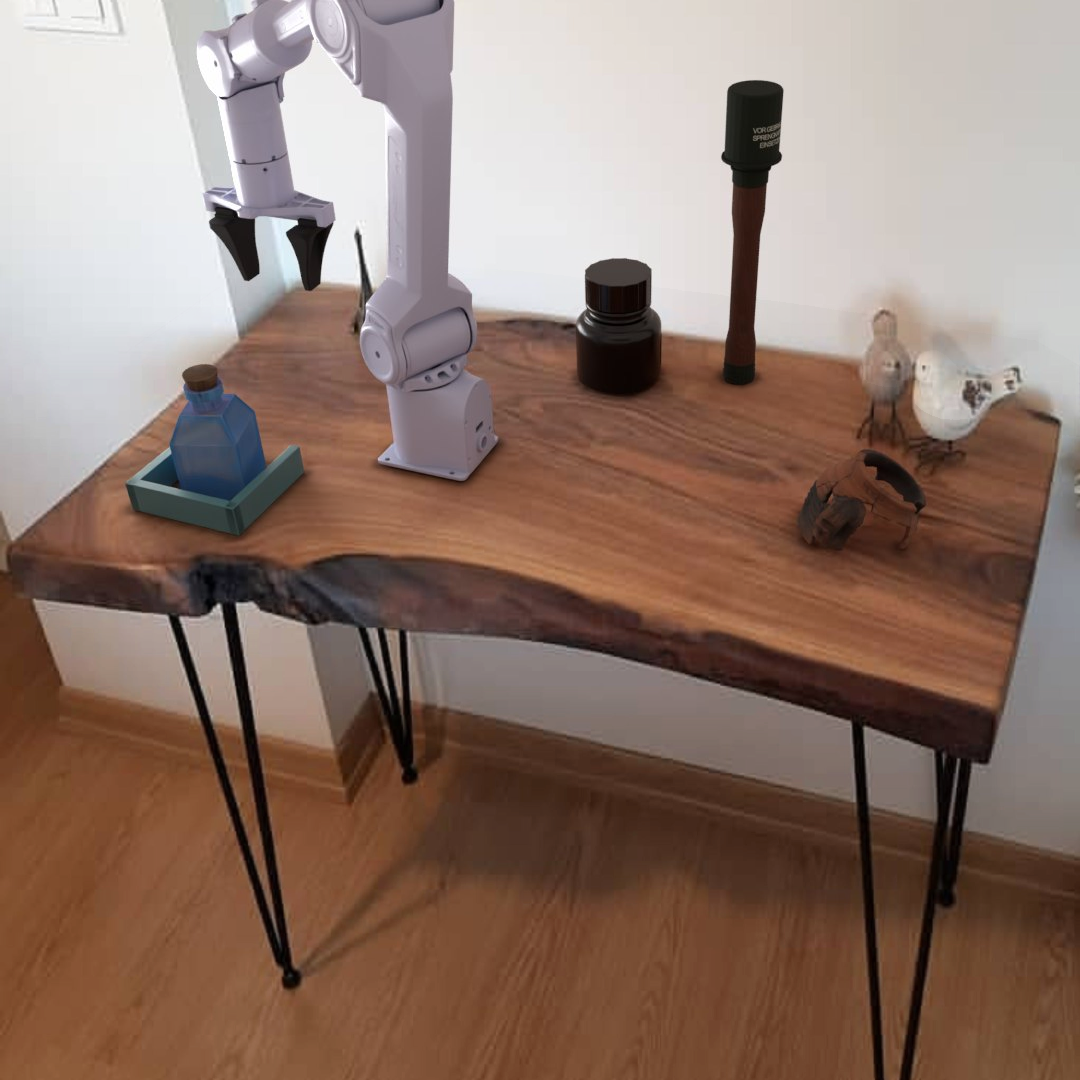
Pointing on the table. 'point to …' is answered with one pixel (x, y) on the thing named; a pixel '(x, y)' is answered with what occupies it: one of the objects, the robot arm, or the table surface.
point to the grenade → (748, 208)
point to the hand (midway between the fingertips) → (282, 282)
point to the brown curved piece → (859, 500)
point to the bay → (227, 516)
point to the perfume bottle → (215, 438)
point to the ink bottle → (618, 329)
